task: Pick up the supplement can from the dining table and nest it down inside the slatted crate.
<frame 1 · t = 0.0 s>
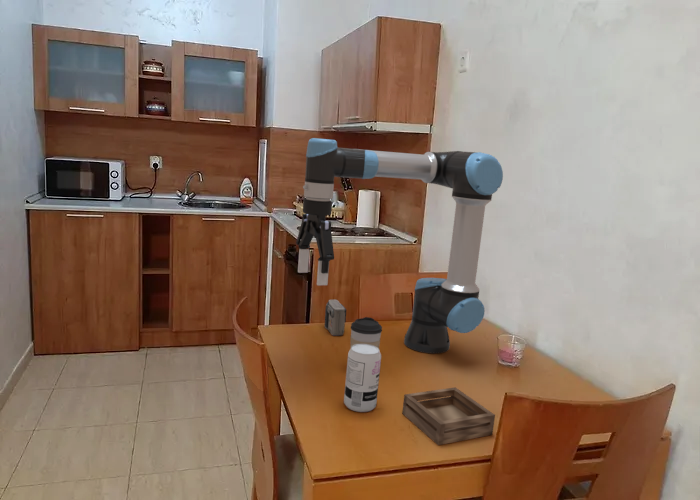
hand: (311, 278, 149), 28 cm above the table, fingers open, 13 cm apart
crate: (446, 423, 135), on the table
supplement can: (359, 406, 140), on the table
camera: (334, 331, 194), on the table
coffee cup: (362, 370, 163), on the table
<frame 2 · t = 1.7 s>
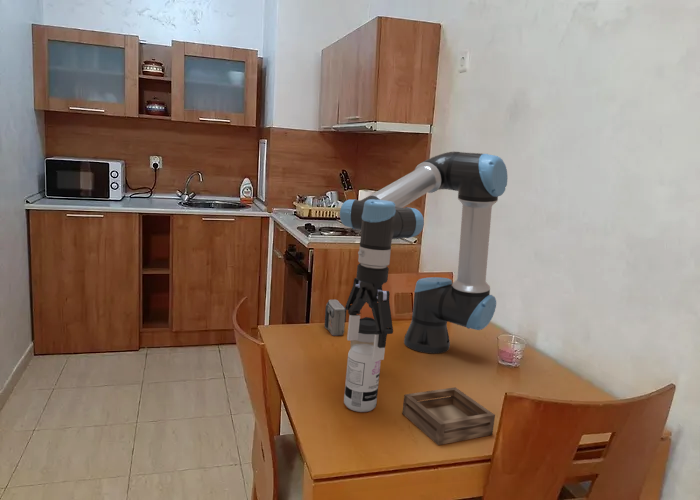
hand: (364, 349, 137), 15 cm above the table, fingers open, 13 cm apart
nothing on the table moved.
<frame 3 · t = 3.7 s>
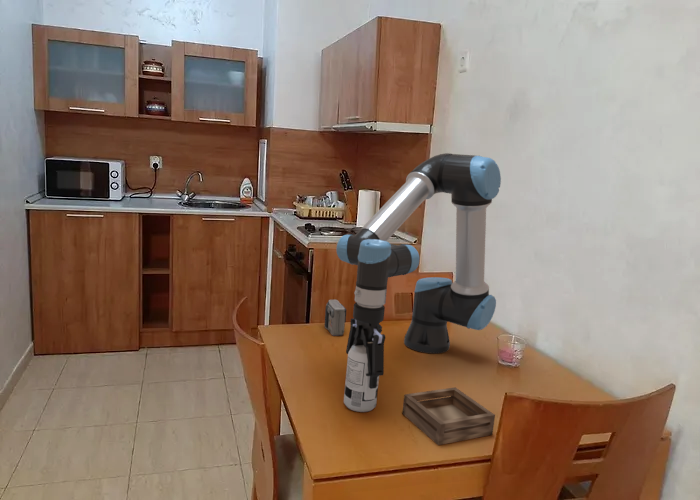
hand: (361, 391, 140), 4 cm above the table, fingers closed on supplement can, 8 cm apart
supplement can: (359, 406, 140), on the table, touching gripper
everything else where it was.
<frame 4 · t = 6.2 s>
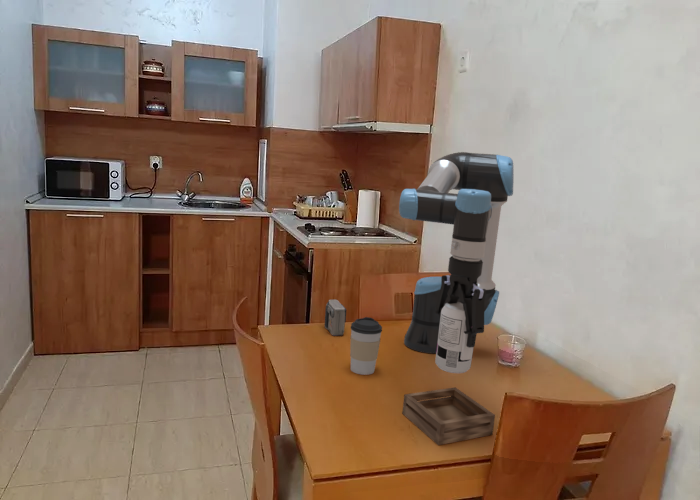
hand: (454, 352, 131), 18 cm above the table, fingers closed on supplement can, 8 cm apart
supplement can: (452, 368, 132), point 14 cm above the table, touching gripper
everything else where it was.
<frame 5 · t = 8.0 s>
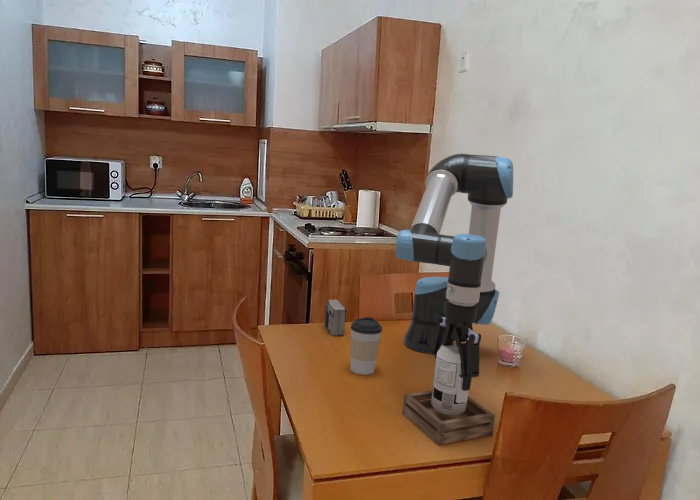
hand: (450, 393, 133), 8 cm above the table, fingers closed on supplement can, 8 cm apart
supplement can: (447, 409, 134), point 4 cm above the table, touching gripper
everything else where it was.
when the fingers open (6 cm above the table, at t = 9.2 s): supplement can drops 1 cm, resting on crate.
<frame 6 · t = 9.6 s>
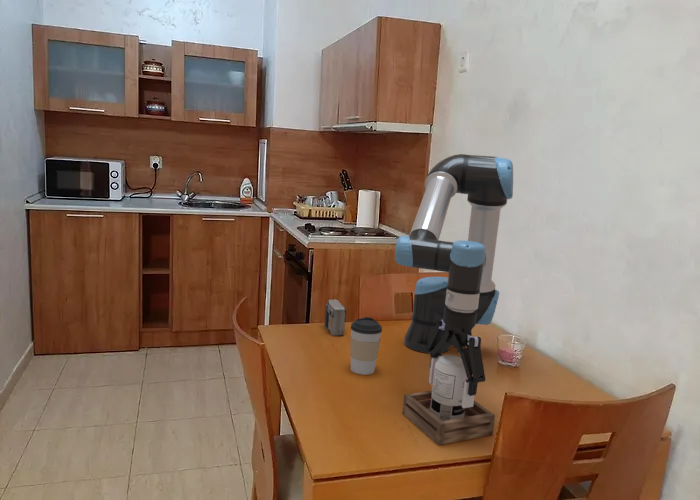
hand: (449, 394, 133), 8 cm above the table, fingers open, 13 cm apart
supplement can: (445, 420, 135), point 1 cm above the table, touching crate
everything else where it was.
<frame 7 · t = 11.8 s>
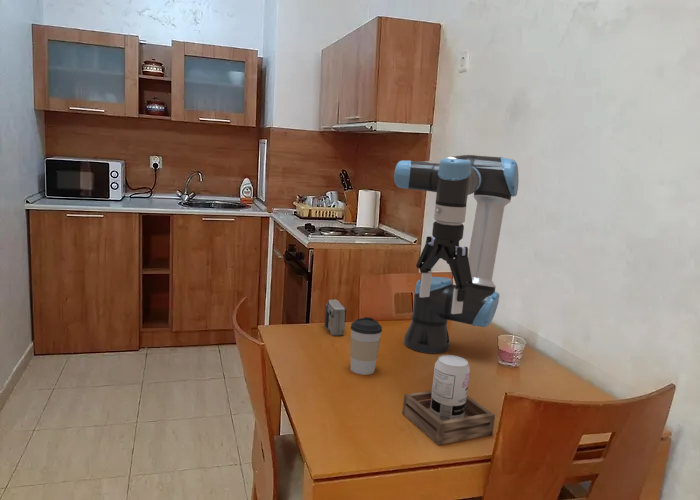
hand: (439, 304, 142), 26 cm above the table, fingers open, 13 cm apart
nothing on the table moved.
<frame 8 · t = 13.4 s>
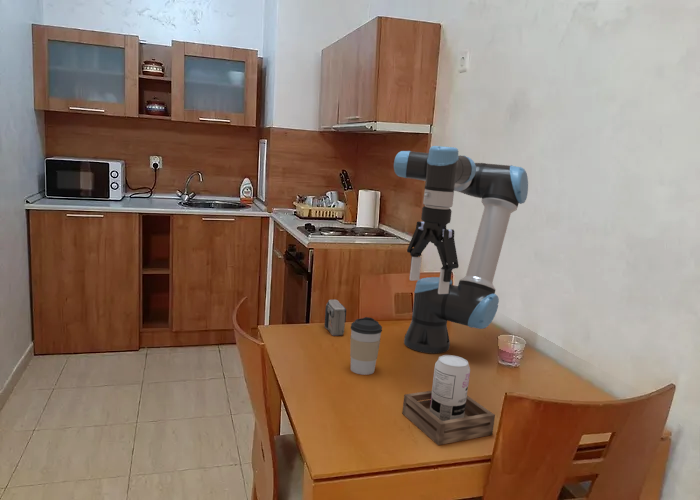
hand: (428, 286, 148), 29 cm above the table, fingers open, 13 cm apart
nothing on the table moved.
at the end: supplement can inside the target area on the crate (0.3 cm from its centre), point 0.8 cm above the crate's base; supplement can tilted 0°; the gripper is holding nothing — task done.
